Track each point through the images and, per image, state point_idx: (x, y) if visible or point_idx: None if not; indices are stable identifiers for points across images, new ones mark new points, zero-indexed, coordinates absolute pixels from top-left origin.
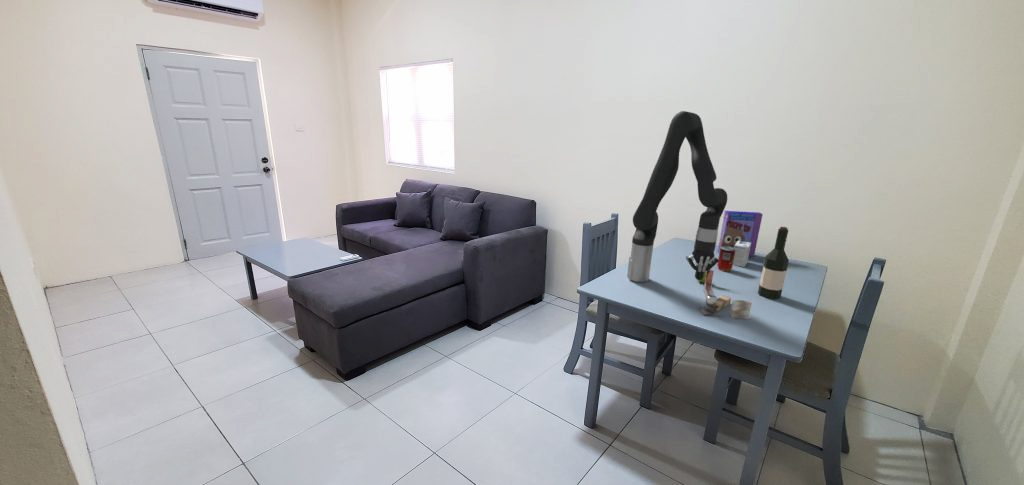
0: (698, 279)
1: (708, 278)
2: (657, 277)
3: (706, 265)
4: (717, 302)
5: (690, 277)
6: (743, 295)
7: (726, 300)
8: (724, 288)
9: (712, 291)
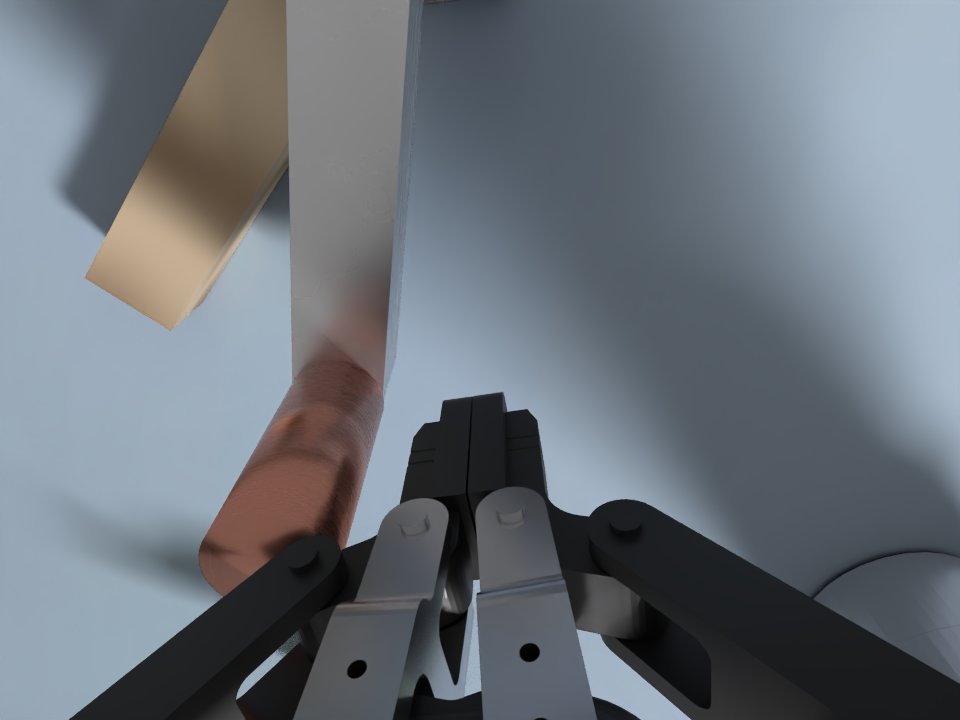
0: (495, 394)
1: (324, 428)
2: None
3: (351, 625)
4: (259, 67)
5: None
6: (3, 474)
7: (138, 174)
8: (167, 576)
9: (305, 124)
